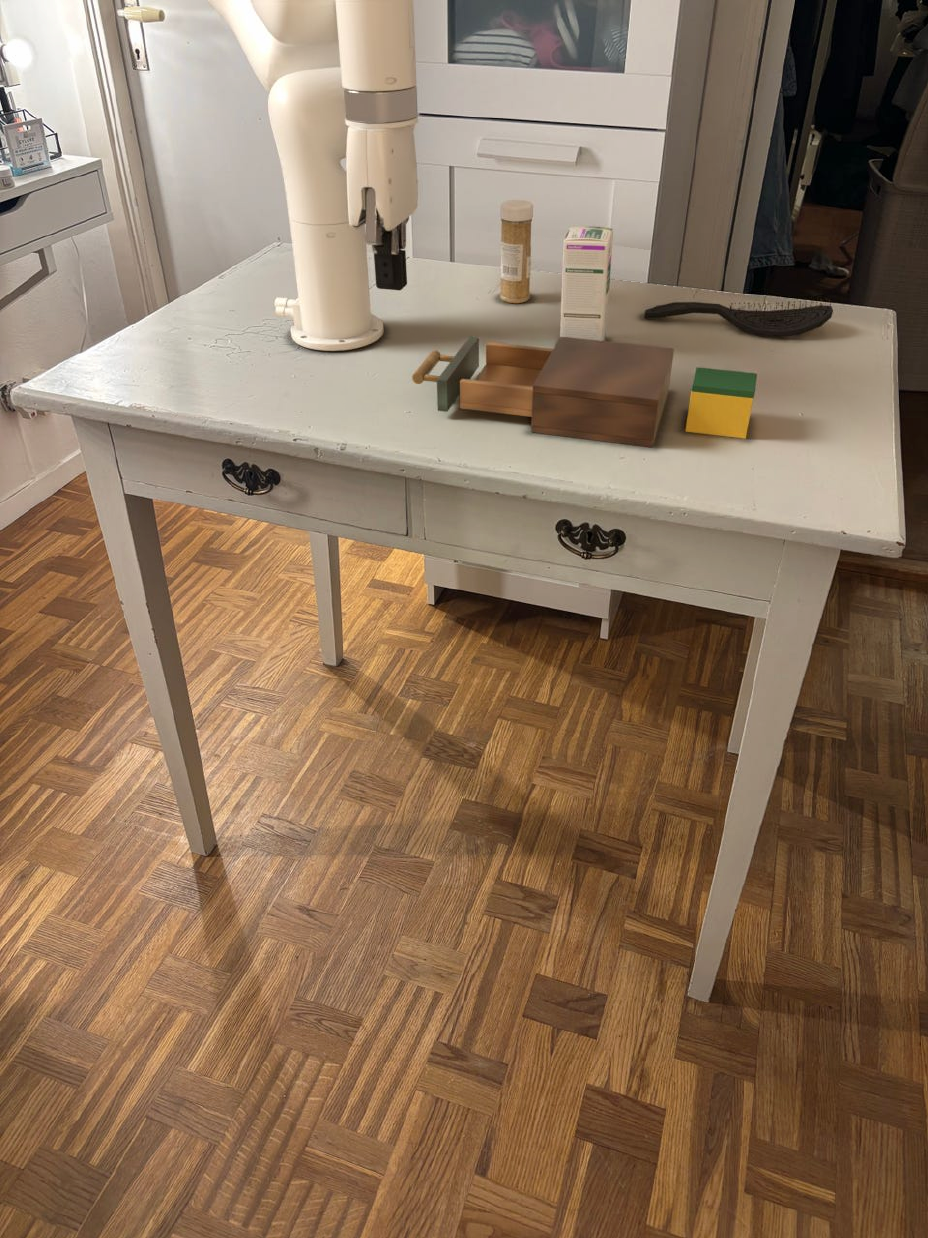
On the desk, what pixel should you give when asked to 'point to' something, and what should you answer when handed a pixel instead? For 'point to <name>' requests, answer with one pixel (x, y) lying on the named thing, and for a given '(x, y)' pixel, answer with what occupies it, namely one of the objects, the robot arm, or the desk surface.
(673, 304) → the hairbrush
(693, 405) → the sponge
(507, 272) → the sprinkles bottle
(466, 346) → the drawer
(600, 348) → the drawer unit
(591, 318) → the syrup box
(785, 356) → the desk surface
